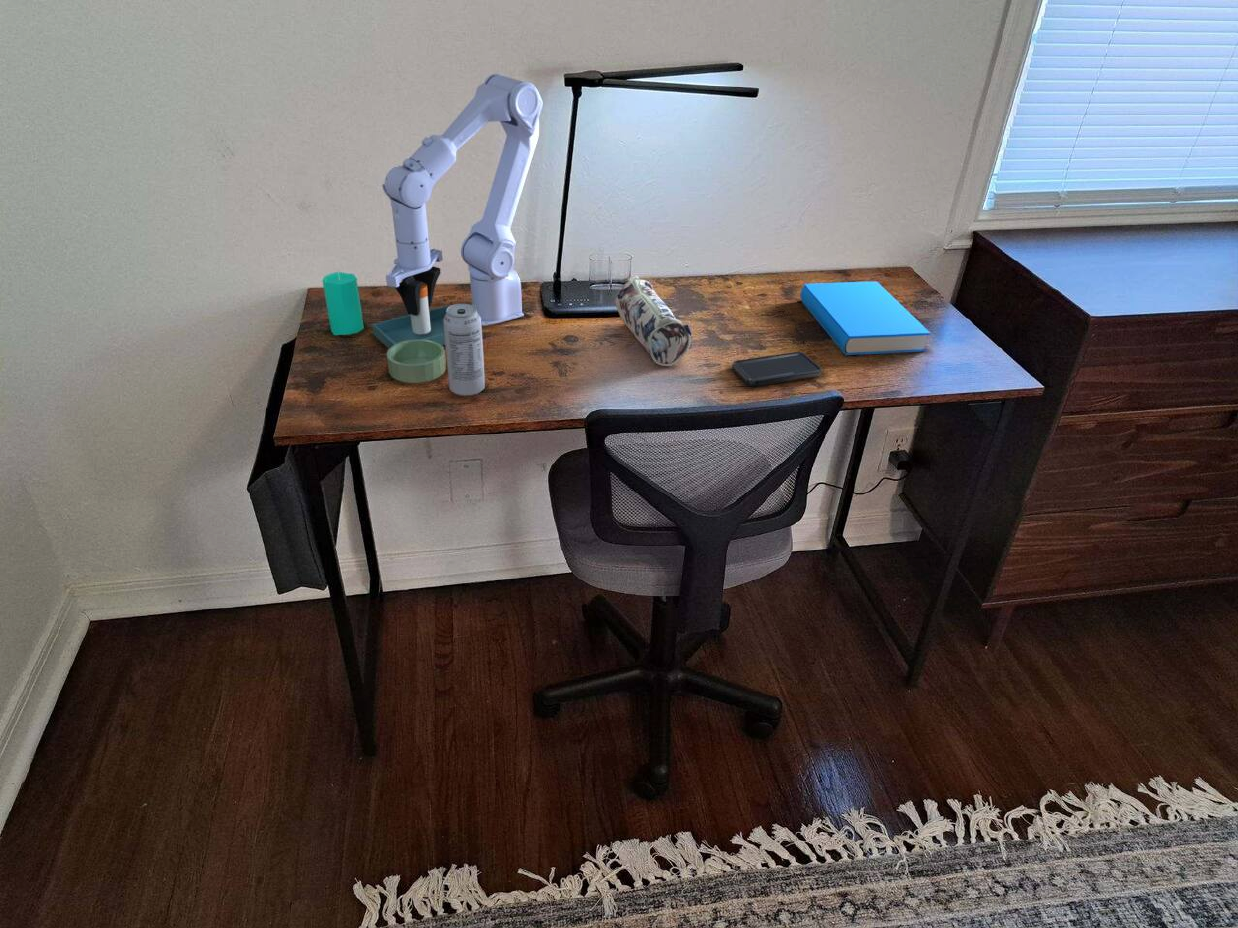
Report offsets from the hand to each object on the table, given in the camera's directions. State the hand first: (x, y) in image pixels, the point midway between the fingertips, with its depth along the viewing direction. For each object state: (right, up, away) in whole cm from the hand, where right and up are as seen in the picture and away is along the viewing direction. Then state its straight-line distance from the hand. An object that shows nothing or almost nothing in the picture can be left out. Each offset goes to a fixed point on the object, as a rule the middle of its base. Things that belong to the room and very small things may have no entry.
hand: (419, 310), depth 155 cm
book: (+86, 0, +15) cm, 87 cm away
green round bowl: (+1, -12, -7) cm, 14 cm away
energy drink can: (+11, -16, -12) cm, 23 cm away
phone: (+66, -12, -3) cm, 67 cm away
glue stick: (0, -3, +2) cm, 4 cm away
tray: (0, -4, +3) cm, 6 cm away
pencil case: (+43, -5, +5) cm, 44 cm away
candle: (-15, -3, +5) cm, 16 cm away
